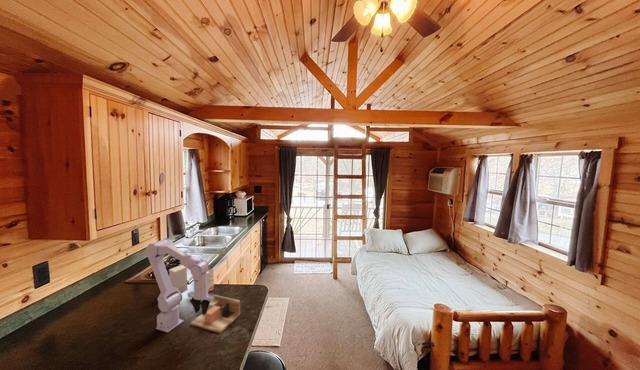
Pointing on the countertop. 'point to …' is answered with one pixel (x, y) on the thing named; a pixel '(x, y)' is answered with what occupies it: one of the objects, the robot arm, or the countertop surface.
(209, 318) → the salmon orange block
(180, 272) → the skincare box
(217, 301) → the sage green block
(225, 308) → the bookend
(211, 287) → the ink cartridge box
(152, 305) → the countertop surface
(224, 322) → the shelf
